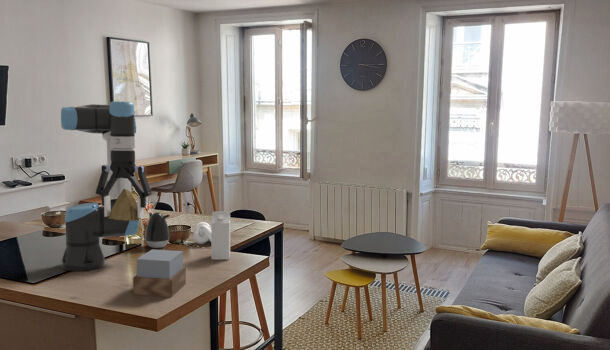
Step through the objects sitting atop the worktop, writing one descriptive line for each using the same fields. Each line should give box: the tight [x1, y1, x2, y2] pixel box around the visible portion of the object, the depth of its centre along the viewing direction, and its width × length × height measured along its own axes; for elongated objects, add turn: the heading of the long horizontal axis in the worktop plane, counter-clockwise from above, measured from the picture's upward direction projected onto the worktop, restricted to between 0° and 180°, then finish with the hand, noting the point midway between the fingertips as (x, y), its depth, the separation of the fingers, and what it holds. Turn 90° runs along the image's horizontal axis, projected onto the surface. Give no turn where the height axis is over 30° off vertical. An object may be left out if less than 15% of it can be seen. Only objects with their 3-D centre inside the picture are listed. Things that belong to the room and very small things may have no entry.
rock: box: [108, 189, 140, 221], centre depth 172 cm, size 11×9×10 cm
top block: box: [136, 248, 184, 279], centre depth 175 cm, size 11×12×6 cm
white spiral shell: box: [192, 221, 211, 245], centre depth 237 cm, size 11×12×9 cm
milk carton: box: [210, 211, 231, 261], centre depth 214 cm, size 7×7×19 cm
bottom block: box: [132, 267, 187, 298], centre depth 176 cm, size 13×13×6 cm
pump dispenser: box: [144, 212, 170, 249], centre depth 228 cm, size 10×10×15 cm
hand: (124, 216), depth 173 cm, fingers closed on rock, 11 cm apart
